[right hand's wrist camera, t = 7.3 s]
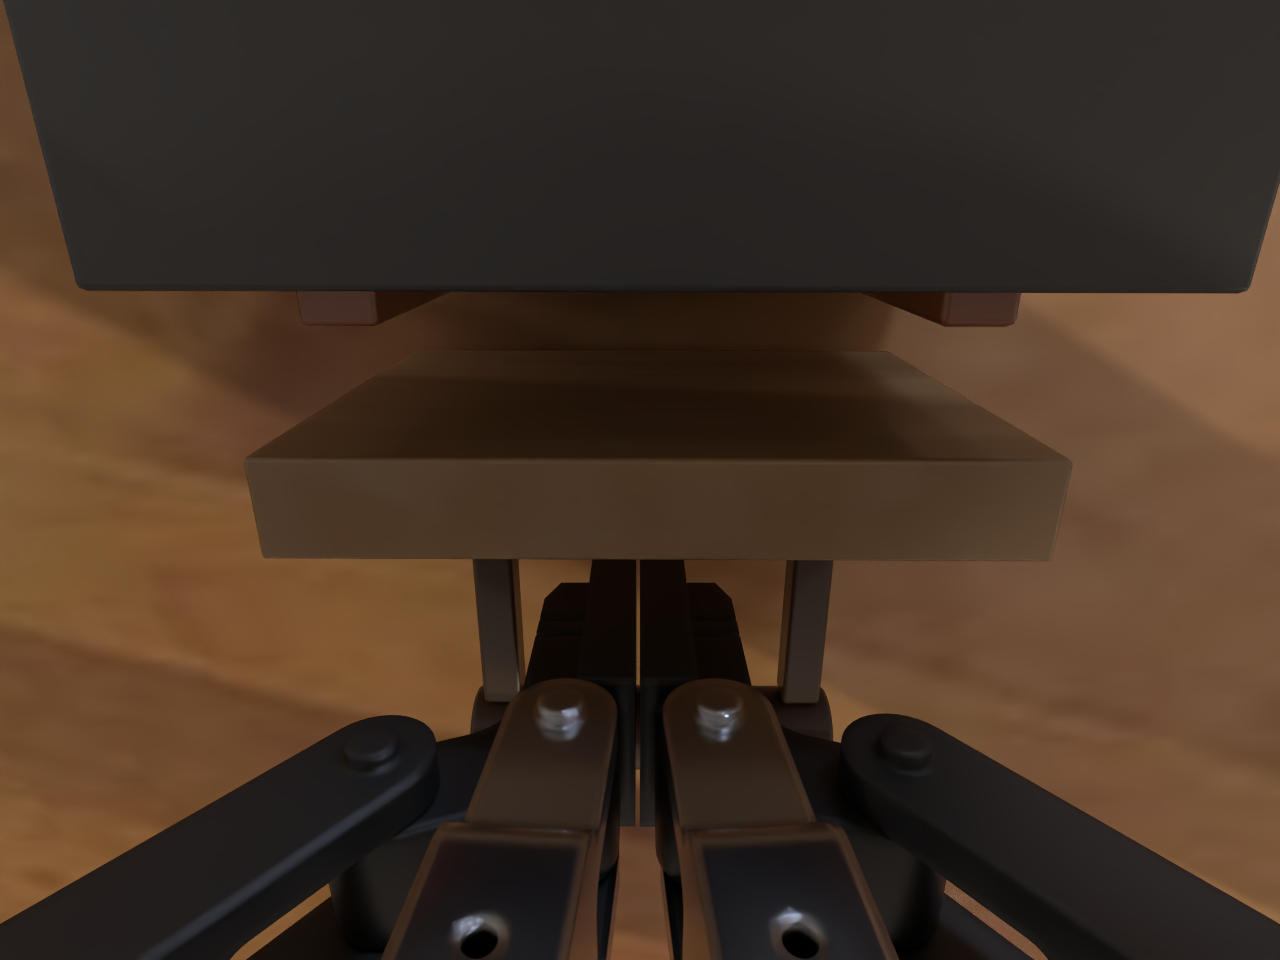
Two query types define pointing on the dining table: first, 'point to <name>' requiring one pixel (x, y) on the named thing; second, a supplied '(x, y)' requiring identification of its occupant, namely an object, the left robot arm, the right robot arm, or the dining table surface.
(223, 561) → the dining table surface
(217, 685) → the dining table surface
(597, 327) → the dining table surface
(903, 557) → the drawer
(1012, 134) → the cabinet
